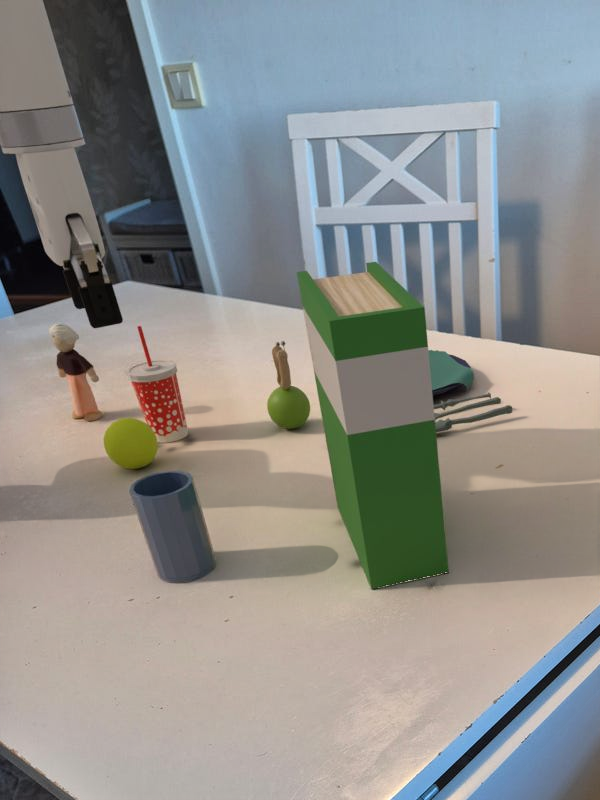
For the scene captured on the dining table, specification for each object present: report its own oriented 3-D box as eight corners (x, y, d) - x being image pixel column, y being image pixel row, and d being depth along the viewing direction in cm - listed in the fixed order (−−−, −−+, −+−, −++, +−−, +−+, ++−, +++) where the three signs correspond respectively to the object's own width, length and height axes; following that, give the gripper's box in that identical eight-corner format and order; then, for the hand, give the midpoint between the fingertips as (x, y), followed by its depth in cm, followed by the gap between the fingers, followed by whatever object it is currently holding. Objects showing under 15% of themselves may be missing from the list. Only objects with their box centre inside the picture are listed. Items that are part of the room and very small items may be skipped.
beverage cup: (164, 425, 113) (133, 318, 105) (203, 428, 112) (175, 320, 103) (136, 443, 109) (102, 333, 100) (177, 446, 107) (144, 335, 99)
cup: (154, 586, 80) (125, 501, 74) (160, 557, 84) (133, 475, 79) (214, 578, 80) (190, 492, 75) (217, 549, 85) (194, 467, 79)
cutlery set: (440, 355, 131) (439, 340, 130) (528, 416, 109) (528, 399, 107) (317, 379, 125) (314, 364, 123) (383, 450, 102) (381, 432, 101)
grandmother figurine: (59, 420, 117) (24, 327, 109) (77, 410, 120) (45, 318, 112) (104, 424, 115) (72, 329, 107) (121, 413, 118) (92, 321, 110)
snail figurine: (277, 441, 107) (257, 345, 99) (268, 424, 111) (248, 332, 104) (319, 432, 108) (302, 338, 101) (308, 416, 113) (291, 325, 106)
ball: (109, 480, 100) (92, 432, 96) (116, 460, 105) (101, 413, 101) (160, 473, 101) (146, 425, 97) (166, 453, 105) (152, 407, 102)
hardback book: (337, 507, 91) (296, 272, 76) (404, 495, 92) (375, 261, 78) (371, 589, 77) (329, 321, 63) (448, 572, 79) (424, 307, 64)
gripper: (-12, 131, 85) (50, 306, 95) (7, 141, 73) (76, 341, 83) (65, 122, 88) (118, 293, 98) (96, 131, 76) (152, 325, 86)
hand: (98, 315), depth 90 cm, fingers open, 9 cm apart
